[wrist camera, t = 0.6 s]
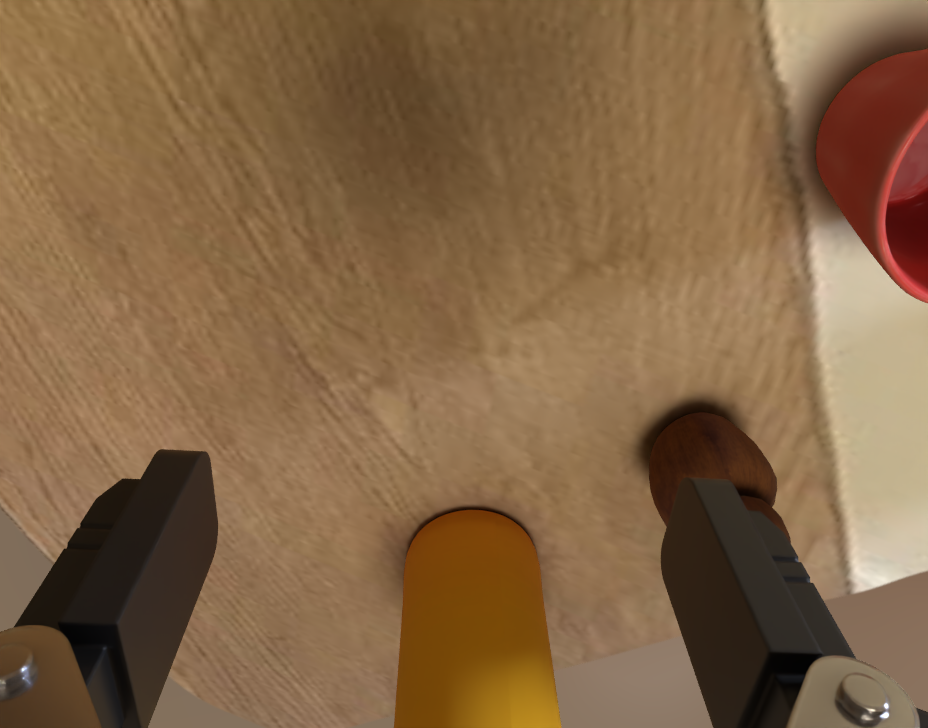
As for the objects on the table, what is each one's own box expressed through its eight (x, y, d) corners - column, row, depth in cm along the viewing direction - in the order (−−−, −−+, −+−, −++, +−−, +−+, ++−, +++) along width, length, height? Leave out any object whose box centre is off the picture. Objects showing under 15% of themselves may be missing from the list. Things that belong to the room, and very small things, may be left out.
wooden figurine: (697, 379, 44) (801, 559, 31) (759, 427, 46) (882, 616, 33) (619, 451, 47) (685, 644, 34) (681, 493, 49) (765, 693, 36)
